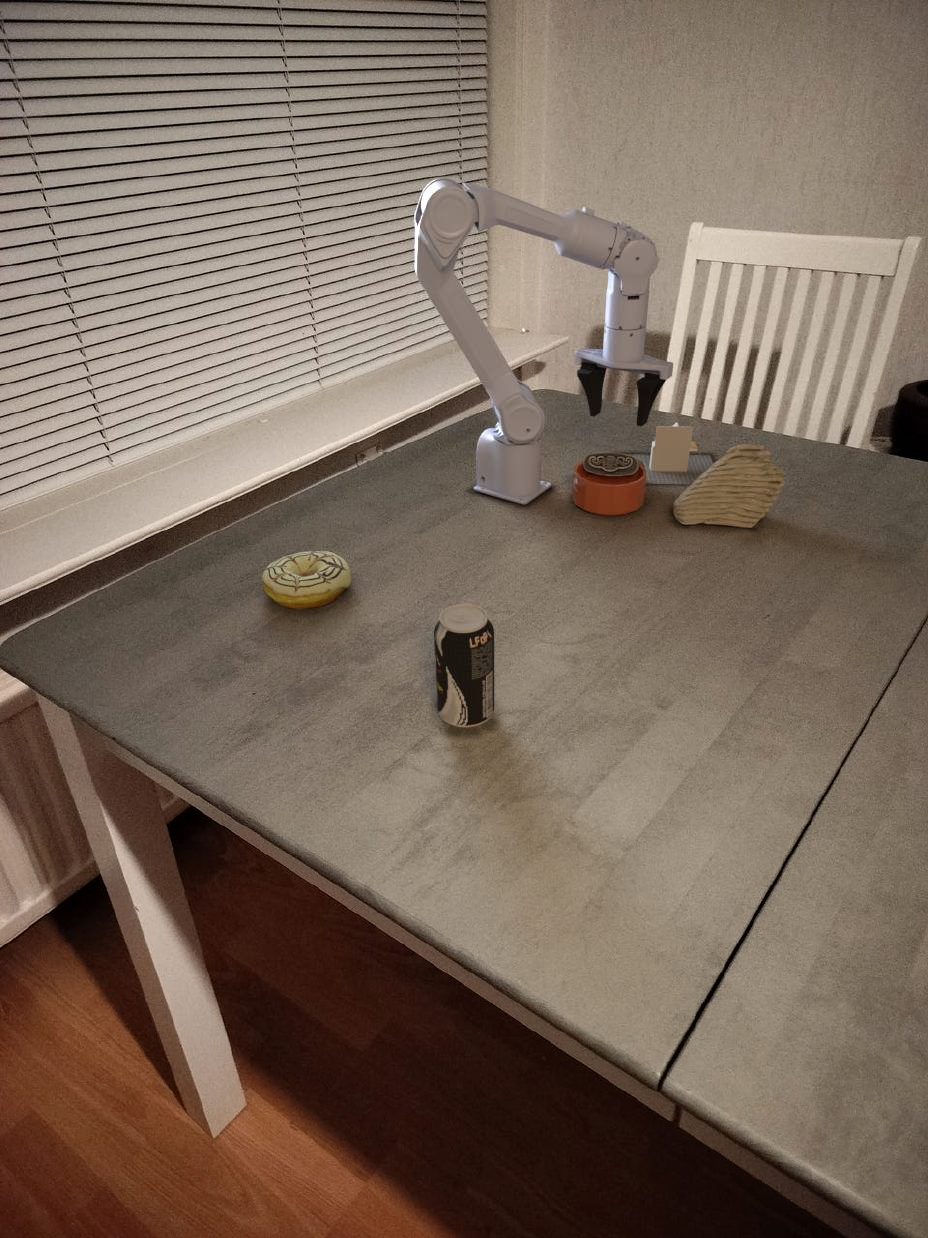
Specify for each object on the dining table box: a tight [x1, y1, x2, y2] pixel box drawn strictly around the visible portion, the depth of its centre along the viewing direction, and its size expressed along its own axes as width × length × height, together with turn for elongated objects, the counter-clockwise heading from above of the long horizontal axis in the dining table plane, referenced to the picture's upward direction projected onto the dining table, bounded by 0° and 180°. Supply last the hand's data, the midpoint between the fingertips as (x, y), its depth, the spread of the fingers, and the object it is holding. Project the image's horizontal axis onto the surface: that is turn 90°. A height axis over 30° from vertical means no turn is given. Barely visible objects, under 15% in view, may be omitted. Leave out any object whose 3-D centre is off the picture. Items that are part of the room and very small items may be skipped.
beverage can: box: [433, 603, 495, 728], centre depth 80 cm, size 6×6×12 cm
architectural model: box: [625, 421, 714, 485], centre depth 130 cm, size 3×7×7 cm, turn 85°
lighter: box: [583, 451, 645, 476], centre depth 125 cm, size 8×3×10 cm
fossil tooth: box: [672, 443, 787, 529], centre depth 114 cm, size 12×6×15 cm
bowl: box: [571, 459, 647, 517], centre depth 121 cm, size 10×10×5 cm
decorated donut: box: [261, 550, 352, 611], centre depth 103 cm, size 10×11×4 cm
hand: (618, 418), depth 122 cm, fingers open, 7 cm apart
